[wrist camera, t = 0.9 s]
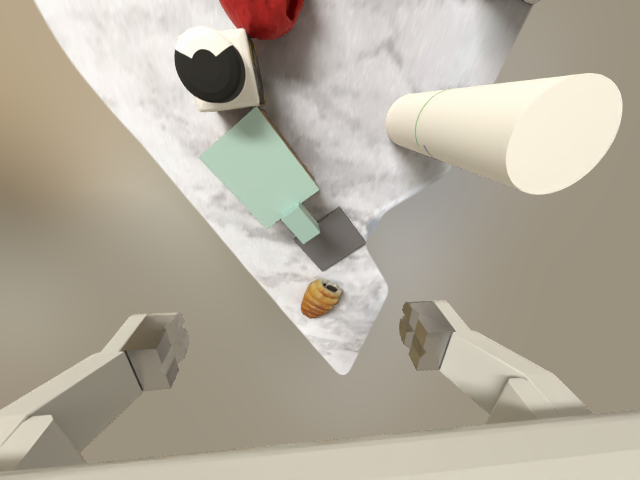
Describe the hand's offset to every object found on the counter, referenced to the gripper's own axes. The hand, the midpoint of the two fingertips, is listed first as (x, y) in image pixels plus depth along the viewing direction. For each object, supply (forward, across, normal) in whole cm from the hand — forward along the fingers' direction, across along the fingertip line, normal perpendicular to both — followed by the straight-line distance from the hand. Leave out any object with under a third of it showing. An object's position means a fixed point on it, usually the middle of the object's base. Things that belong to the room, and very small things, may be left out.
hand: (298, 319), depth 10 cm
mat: (+34, -6, +14) cm, 37 cm away
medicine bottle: (+34, +8, -11) cm, 37 cm away
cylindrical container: (+34, -17, -6) cm, 38 cm away
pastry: (+35, -5, +26) cm, 44 cm away
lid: (+28, +3, +2) cm, 28 cm away
